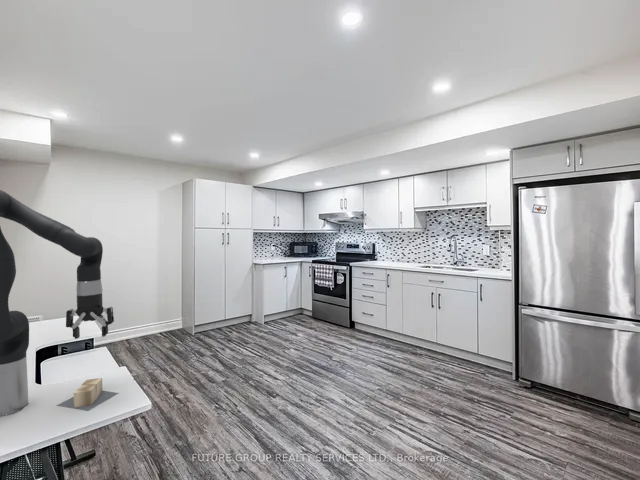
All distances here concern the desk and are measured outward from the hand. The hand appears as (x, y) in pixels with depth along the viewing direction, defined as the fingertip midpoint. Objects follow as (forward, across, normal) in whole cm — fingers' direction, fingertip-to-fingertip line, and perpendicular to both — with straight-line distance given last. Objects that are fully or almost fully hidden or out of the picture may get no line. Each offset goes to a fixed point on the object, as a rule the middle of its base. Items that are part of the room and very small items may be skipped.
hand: (90, 337), depth 117 cm
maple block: (+19, 0, +2) cm, 19 cm away
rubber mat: (+22, 0, -3) cm, 22 cm away
